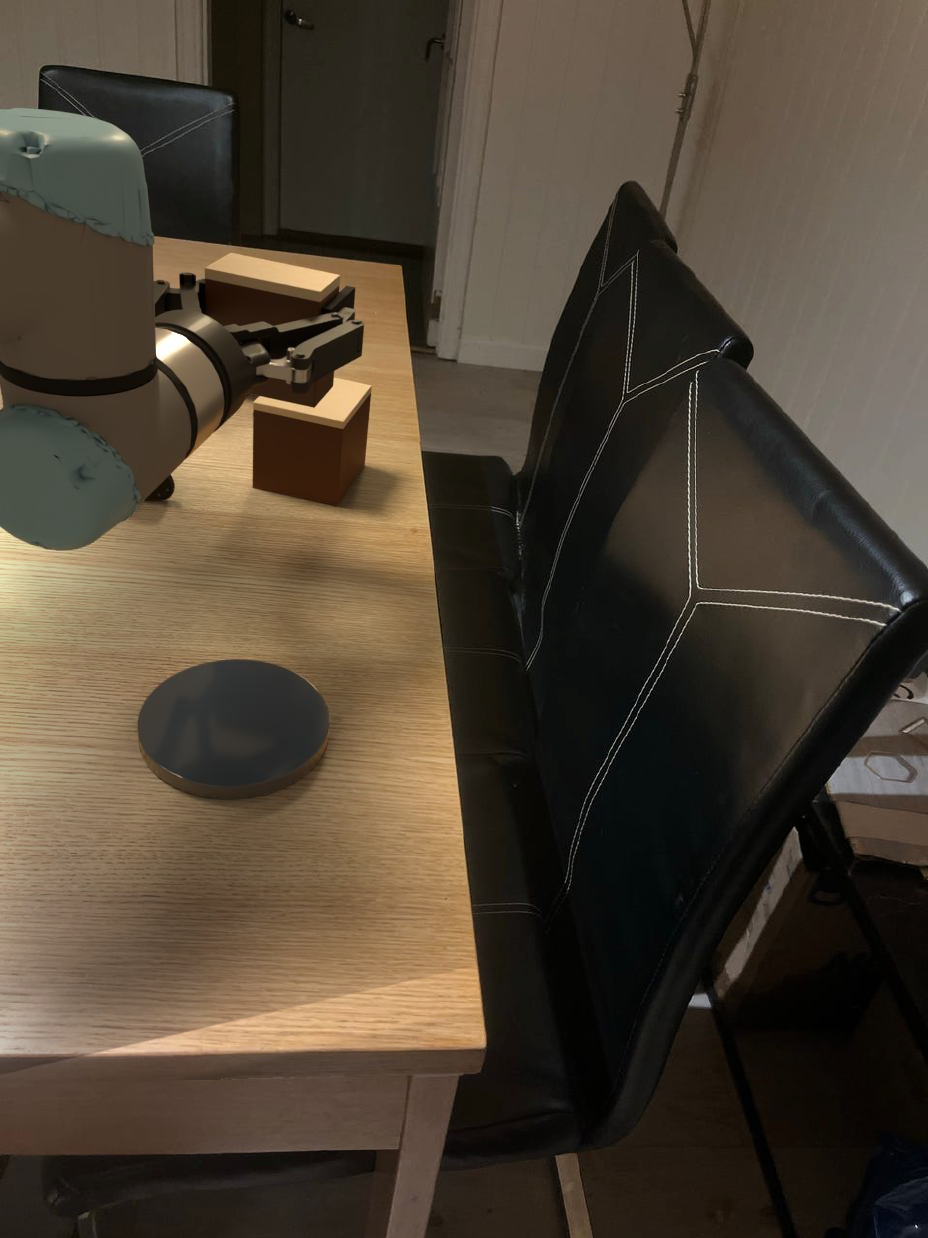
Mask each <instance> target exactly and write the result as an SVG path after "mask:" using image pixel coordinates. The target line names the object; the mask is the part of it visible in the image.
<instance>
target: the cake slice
mask: <svg viewBox="0 0 928 1238" xmlns="http://www.w3.org/2000/svg"><path fill="white" fill-rule="evenodd" d="M205 278H206V279H205ZM204 279H205V299H206V315H207V316H209V317H211V318H212V319H214V320H216V321H217V322H218V323H220V324H221V325H222V326H227V325H231V324H236V325H238V326H244V325H248V324H253V323H257V322H266V323H268V324H270V325H272V326H275V325H280V324H284V323H289V322H293V321H297V320H302V319H306V318H311V317H315V316H319V315H322V307H323V306H324V305H326V304H327V303H328V302H329V301H330V300H331V299H332V298H333V297H335V296H336V295H337V294H338V293H339V292H340V284H341V274H339V273H338V274H337V273H332V272H327V271H322V270H317V269H313V268H308V267H303V266H298V265H294V264H289V263H284V262H279V261H273V260H268V259H264V258H260V257H254V256H250V255H244V254H239V253H234V252H230V253H228V254H226V255H224V256H222V257H220V258H219V259H218V260H215V261H214V262H212V263H211V264H208V265H207V266H205V267H204ZM334 378H335V371H333V372H331V373H330V374H328V375H326V376H324V377H322V378H320V379H319V380H317V381H315V382H313V383H312V385H311V387H310V389H309V390H308V392H307V393H304V394H296V393H293V392H291V391H290V384H287V383H286V380H282V379H276V378H269V380H268V381H267V382H266V383H264V384H262V385H258V386H254V387H252V388H251V390H250V391H249V393H248V395H253V396H256V397H257V396H258V397H259V396H262V397H266V398H271V399H276V400H280V401H285V402H290V403H294V404H299V405H304V406H308V407H313V408H315V407H316V405H317V404H318V403H319V402H320V401H321V400H322V399H323V397H324V396H325V395H326V394H327V393H328V392H329V391H330V389H331V388H332V387H333V382H334Z"/></svg>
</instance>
